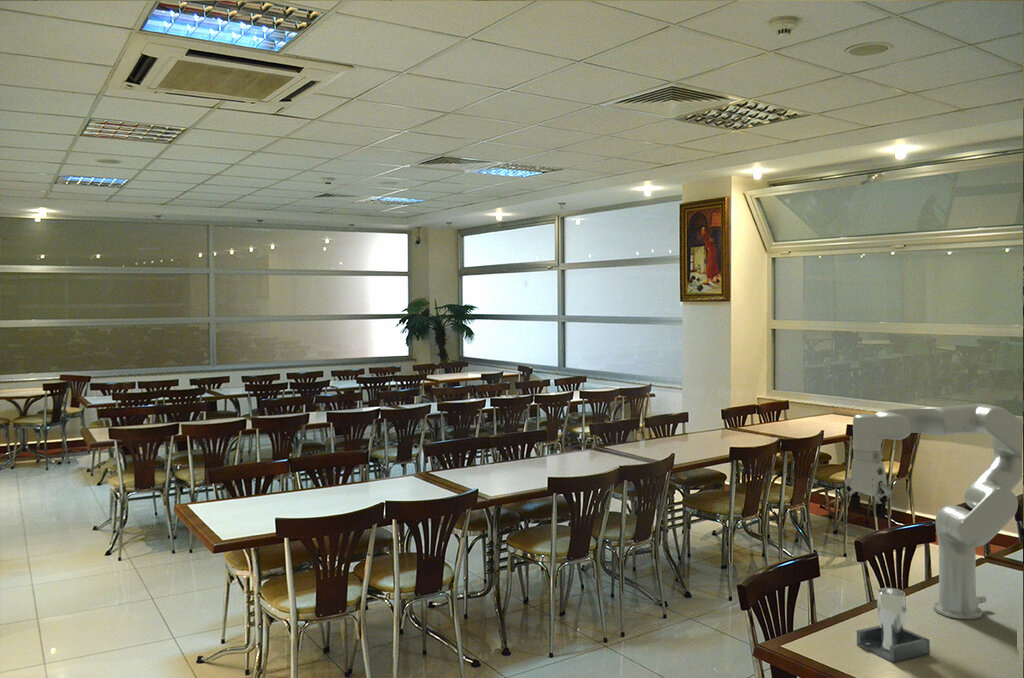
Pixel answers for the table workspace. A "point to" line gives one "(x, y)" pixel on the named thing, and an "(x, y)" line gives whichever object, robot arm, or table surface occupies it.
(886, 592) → the beer glass
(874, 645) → the grey tray
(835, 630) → the table surface
